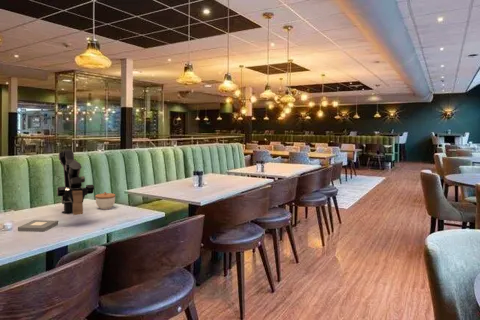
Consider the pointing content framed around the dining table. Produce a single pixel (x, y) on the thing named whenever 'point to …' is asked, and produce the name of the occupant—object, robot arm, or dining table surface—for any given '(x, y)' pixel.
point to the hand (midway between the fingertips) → (77, 202)
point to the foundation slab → (38, 225)
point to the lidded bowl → (105, 200)
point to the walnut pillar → (77, 202)
